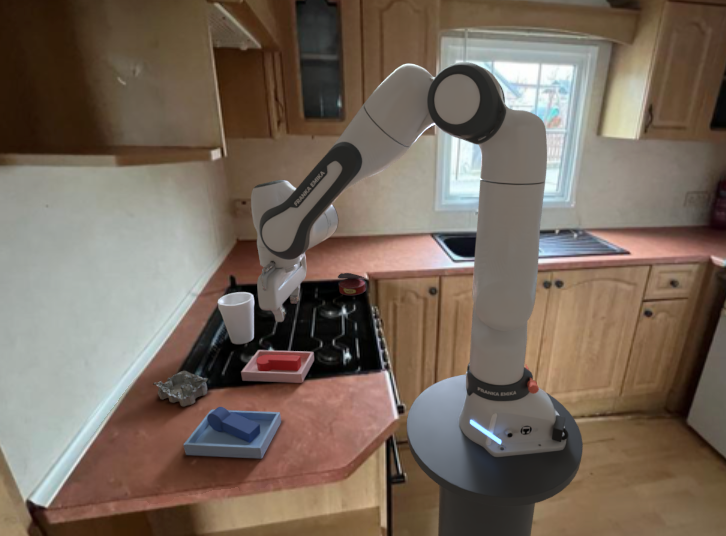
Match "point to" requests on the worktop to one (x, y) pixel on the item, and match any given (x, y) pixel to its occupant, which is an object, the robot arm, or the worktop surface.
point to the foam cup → (238, 316)
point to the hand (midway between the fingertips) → (288, 311)
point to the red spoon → (278, 362)
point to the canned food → (351, 284)
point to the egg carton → (182, 388)
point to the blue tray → (233, 437)
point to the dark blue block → (233, 424)
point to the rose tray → (298, 376)
